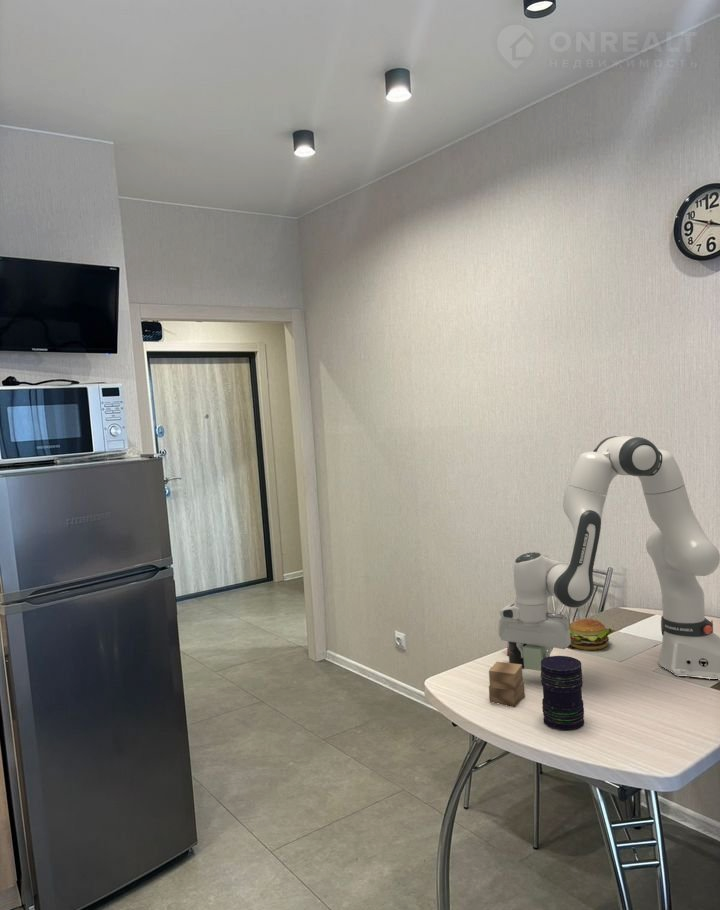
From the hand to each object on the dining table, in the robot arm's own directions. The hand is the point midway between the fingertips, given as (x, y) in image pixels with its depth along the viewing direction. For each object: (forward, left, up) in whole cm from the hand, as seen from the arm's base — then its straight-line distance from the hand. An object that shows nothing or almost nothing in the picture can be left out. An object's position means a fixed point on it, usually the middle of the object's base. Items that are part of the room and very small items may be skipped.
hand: (535, 659), depth 197 cm
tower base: (+2, +14, -7) cm, 16 cm away
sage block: (0, 0, -2) cm, 2 cm away
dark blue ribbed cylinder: (-15, +20, -7) cm, 26 cm away
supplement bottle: (+9, -11, -7) cm, 16 cm away
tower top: (+2, +14, -2) cm, 15 cm away
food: (-3, -36, -7) cm, 36 cm away
